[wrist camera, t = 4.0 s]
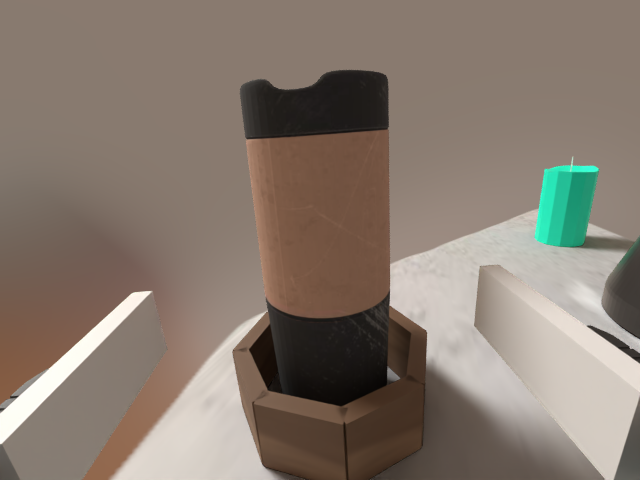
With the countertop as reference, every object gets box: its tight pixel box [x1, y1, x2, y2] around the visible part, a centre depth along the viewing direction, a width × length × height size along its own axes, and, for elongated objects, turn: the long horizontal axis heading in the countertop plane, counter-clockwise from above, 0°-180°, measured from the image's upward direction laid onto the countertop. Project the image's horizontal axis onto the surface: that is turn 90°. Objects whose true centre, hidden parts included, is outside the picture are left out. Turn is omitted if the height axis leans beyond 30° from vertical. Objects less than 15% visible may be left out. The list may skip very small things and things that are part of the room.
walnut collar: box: [233, 306, 427, 480], centre depth 22 cm, size 12×12×4 cm
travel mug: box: [240, 70, 390, 407], centre depth 20 cm, size 8×8×20 cm
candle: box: [535, 157, 599, 247], centre depth 46 cm, size 6×6×12 cm
